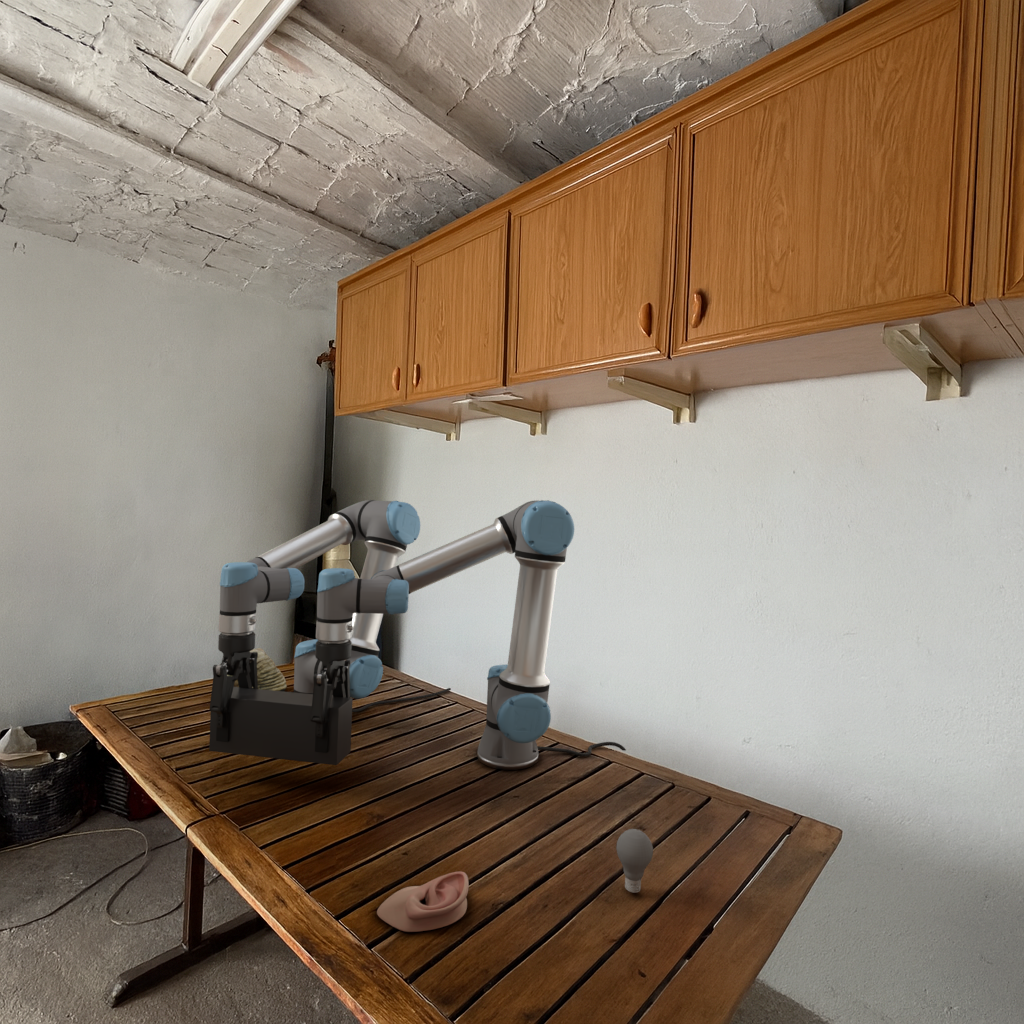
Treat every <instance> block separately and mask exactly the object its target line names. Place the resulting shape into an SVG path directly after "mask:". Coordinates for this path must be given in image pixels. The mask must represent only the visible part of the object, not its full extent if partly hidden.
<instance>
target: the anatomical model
mask: <svg viewBox="0 0 1024 1024" xmlns="http://www.w3.org/2000/svg"><path fill="white" fill-rule="evenodd" d="M469 884H470V883H469V877H468V875H467V873H466V872H464V871H454V872H449V873H446V874H443V875H440V876H437V877H436V878H434V879H432V880H430V881H428V882H426V883H424V884H421V885H413V886H406V887H403V888H401V889H400V890H399V889H398V890H397V891H395V892H394V893H392V894H391V895H390V896H389V897H388V898H386V899H385V900H384V901H383V902H382V903H381V904H380V905H379V906H378V908H377V910H376V915H377V916H378V917H379V919H381V921H383V922H385V923H386V924H388V925H389V926H391V927H393V928H394V929H396V930H399V931H402V932H405V933H417V932H423V931H431V930H436V929H440V928H443V927H447V926H450V925H452V924H454V923H456V922H457V921H459V920H460V919H462V918H463V917H464V915H465V914H466V912H467V908H468V899H467V896H468V893H469V888H470V887H469V886H470V885H469Z"/></svg>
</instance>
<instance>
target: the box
mask: <svg viewBox="0 0 1024 1024" xmlns="http://www.w3.org/2000/svg"><path fill="white" fill-rule="evenodd" d="M312 699H313V694H304V693H294V691H292V692H291V691H284V692H283V691H273V690H262V689H252V688H239V687H234V688H233V692H232V696H231V698H230V704H229V708H228V711H231V713H230V741H229V742H221V741H216V728H217V726H216V718H217V713H216V712H210V713H209V714H210V715H209V716H210V719H209V742H208V743H209V744H208V747H209V748H208V751H209V752H216V753H225V754H232V755H242V756H249V757H250V756H251V757H259V758H267V759H269V758H270V759H276V760H277V759H278V760H287V761H294V762H295V761H296V762H304V763H311V764H312V763H313V764H320V765H321V764H322V765H330V766H337V765H338V764H339V763H341V762H342V761H343V760H344V759H345V758H346V757H347V756H348V755H350V753H351V751H352V750H351V747H352V727H353V726H352V723H353V712H352V709H353V699H354V698H346V697H333V696H332V699H331V704H330V708H329V715H328V720H327V721H330V722H329V748H328V752H327V753H323V752H315V733H316V722H311V721H310V719H311V709H312Z"/></svg>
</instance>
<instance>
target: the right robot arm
mask: <svg viewBox="0 0 1024 1024" xmlns="http://www.w3.org/2000/svg"><path fill="white" fill-rule="evenodd" d="M574 536H575V522H574V519H573V517H572V515H571V513H570V512H569V511H568V509H567V508H565V507H564V506H563V505H561V504H560V503H557V502H555V501H552V500H550V499H549V500H543V499H541V500H530V501H527V502H525V503H523V504H521V505H520V506H518V507H516V508H514V509H513V510H511V511H508V512H506V513H505V514H503V515H500V516H499V517H496V518H495V519H494V521H493V523H492V524H489V525H488V526H485V527H483V528H481V529H478V530H476V531H474V532H472V533H469V534H467V535H465V536H462V537H459V538H458V539H454V540H453V541H450V542H448V543H446V544H443V545H442V546H441V545H440V546H438V547H437V548H434V549H432V550H429V551H427V552H425V553H422V554H420V555H418V556H416V557H413V558H411V559H409V560H407V561H404V562H402V563H399V564H398V565H396V566H395V567H393V568H390V569H388V570H382V571H380V572H378V573H376V574H374V575H373V576H372V577H371V579H360V578H357V577H356V575H355V571H354V570H353V569H352V568H343V567H331V568H325V569H322V570H321V571H320V572H319V574H318V582H317V583H318V585H317V590H316V592H317V594H316V625H315V626H316V627H315V639H317V640H318V641H317V642H316V651H315V657H316V658H317V659H318V660H320V661H321V662H322V665H321V670H320V673H319V674H314V676H313V680H314V689H313V699H312V709H311V719H310V721H311V722H316V733H315V752H323V753H327V752H328V748H329V722H330V721H327V720H328V715H329V708H330V704H331V699H332V693H333V697H346V698H350V660H347V659H349V658H350V657H351V645H352V642H351V641H350V640H349V639H350V638H351V637H352V630H353V629H354V627H353V626H352V618H353V617H352V615H353V613H377V614H383V615H391V616H392V615H397V614H398V615H401V614H405V613H407V612H408V611H409V597H410V594H412V593H415V592H417V591H419V590H422V589H423V588H426V587H428V586H431V585H433V584H436V583H437V582H440V581H442V580H445V579H447V578H449V577H451V576H454V575H456V574H458V573H461V572H463V571H466V570H468V569H470V568H472V567H475V566H477V565H479V564H482V563H484V562H486V561H488V560H491V559H493V558H495V557H498V556H501V555H502V554H504V553H507V554H510V555H513V554H514V558H515V559H516V560H517V562H518V564H519V571H518V579H517V587H516V594H515V602H514V611H513V619H512V627H511V635H510V644H509V650H508V659H507V664H495V665H493V666H491V667H489V668H488V672H487V673H488V674H487V678H486V680H487V695H486V718H485V719H486V720H485V727H484V730H483V733H482V734H481V738H480V741H479V744H478V747H477V752H476V753H477V754H476V755H477V760H478V761H479V762H480V763H482V764H483V765H484V766H487V767H489V768H493V769H498V770H505V771H517V770H524V769H529V768H530V767H533V766H534V765H536V764H537V763H538V761H539V751H543V752H544V751H545V752H555V753H557V752H558V753H565V754H568V755H573V756H576V757H581V758H585V757H589V756H591V755H592V753H593V752H592V750H593V749H596V748H601V747H609V746H611V747H616V748H619V749H620V750H621V751H627V749H626V748H625V746H623V745H622V744H620V743H618V742H614V741H604V742H599V743H594V744H591V745H589V746H588V748H587V751H586V752H579V751H576V750H572V749H567V748H561V747H551V746H539V745H538V743H537V740H538V739H540V738H541V737H543V736H544V735H545V733H546V732H547V731H548V729H549V727H550V725H551V720H552V719H551V718H552V715H551V714H552V713H551V708H550V705H549V704H548V701H549V693H550V687H551V679H549V678H548V676H547V674H546V673H545V671H546V662H547V654H548V647H549V640H550V639H549V638H550V631H551V624H552V616H553V609H554V608H553V607H554V599H555V593H556V591H555V590H556V584H557V576H558V570H559V568H561V567H562V566H564V565H565V564H566V559H567V552H568V551H567V549H568V547H569V546H570V545H571V543H572V541H573V539H574ZM327 684H330V685H327Z"/></svg>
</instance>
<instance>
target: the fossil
mask: <svg viewBox="0 0 1024 1024" xmlns="http://www.w3.org/2000/svg"><path fill="white" fill-rule="evenodd" d="M250 652H257V653H258V657H257V679H258V689H262V690H273V691H283V692H286V689H287V687H288V686H287V680H286V678H285V676H284V674H283V673H282V672H281V669H279V668H278V667H277V665H276V663H275V662H274V660H273V659H272V658H271V657H270V656H269V655H268V654H267V653H266V652H265V650H264V649H263V648H260V647H258V648H254V649H253V650H251V651H250ZM227 676H231V675H227ZM234 687H239V685H238V680H236V681H235V683H234ZM252 688H253V687H252Z"/></svg>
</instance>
